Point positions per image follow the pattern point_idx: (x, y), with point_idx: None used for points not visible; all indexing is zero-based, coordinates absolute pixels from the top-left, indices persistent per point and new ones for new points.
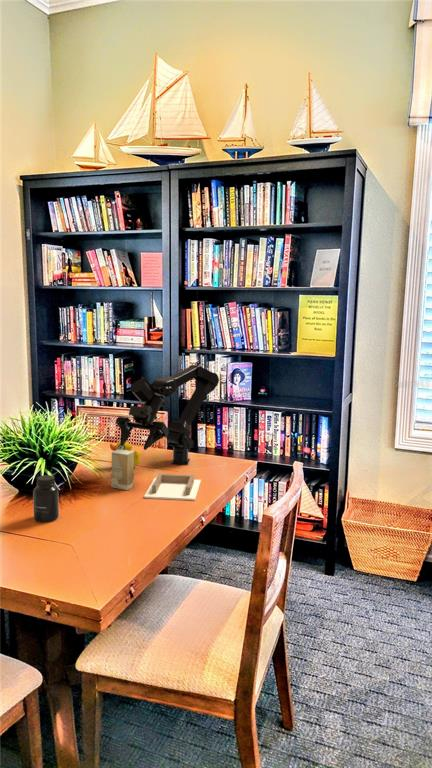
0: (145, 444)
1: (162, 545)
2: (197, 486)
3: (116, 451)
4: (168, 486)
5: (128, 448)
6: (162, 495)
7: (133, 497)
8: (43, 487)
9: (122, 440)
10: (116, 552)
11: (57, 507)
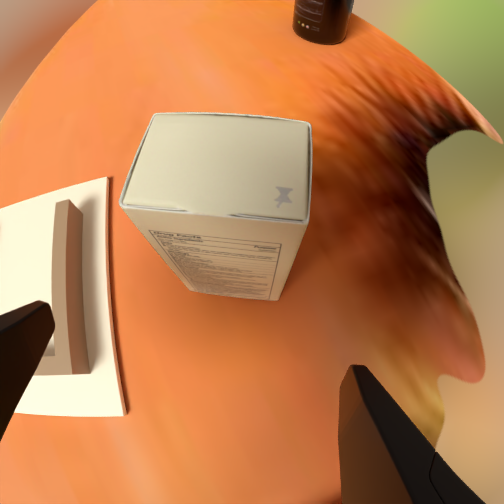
0: (12, 318)
1: (66, 35)
2: None
3: (279, 141)
4: None
5: None
6: (49, 206)
7: None
8: None
9: (365, 402)
10: (131, 3)
11: (294, 9)
